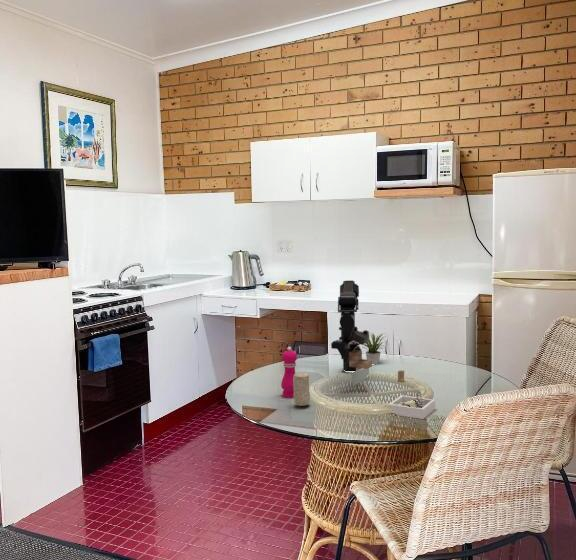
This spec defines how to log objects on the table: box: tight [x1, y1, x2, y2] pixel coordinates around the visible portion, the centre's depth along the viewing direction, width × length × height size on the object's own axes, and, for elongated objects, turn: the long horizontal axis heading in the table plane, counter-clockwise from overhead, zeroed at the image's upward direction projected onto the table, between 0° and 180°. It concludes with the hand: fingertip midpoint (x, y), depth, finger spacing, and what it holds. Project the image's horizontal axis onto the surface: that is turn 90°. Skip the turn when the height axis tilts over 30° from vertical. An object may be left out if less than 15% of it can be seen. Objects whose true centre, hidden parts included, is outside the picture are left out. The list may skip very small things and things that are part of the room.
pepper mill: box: [280, 346, 298, 399], centre depth 247 cm, size 7×7×20 cm
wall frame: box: [356, 368, 405, 383], centre depth 267 cm, size 22×2×6 cm, turn 58°
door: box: [351, 368, 370, 387], centre depth 264 cm, size 14×1×6 cm, turn 146°
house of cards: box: [413, 390, 426, 408], centre depth 226 cm, size 9×9×8 cm
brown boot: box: [349, 350, 373, 369], centre depth 250 cm, size 8×4×6 cm, turn 56°
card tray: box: [387, 394, 436, 420], centre depth 224 cm, size 13×13×4 cm
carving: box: [293, 372, 311, 407], centre depth 234 cm, size 6×8×12 cm
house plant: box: [361, 332, 387, 365], centre depth 296 cm, size 14×14×16 cm
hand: (348, 362), depth 253 cm, fingers closed on brown boot, 4 cm apart
